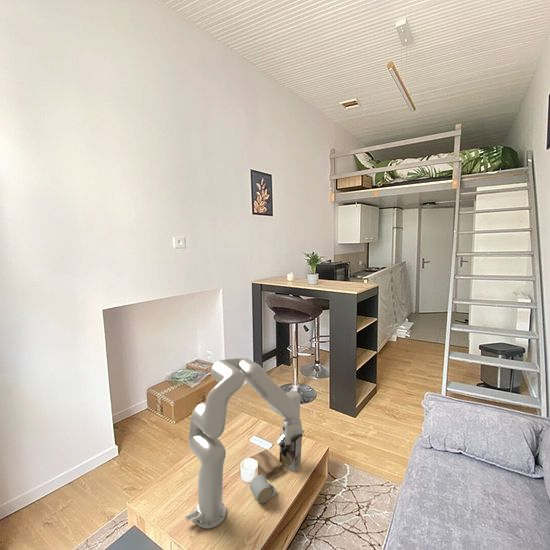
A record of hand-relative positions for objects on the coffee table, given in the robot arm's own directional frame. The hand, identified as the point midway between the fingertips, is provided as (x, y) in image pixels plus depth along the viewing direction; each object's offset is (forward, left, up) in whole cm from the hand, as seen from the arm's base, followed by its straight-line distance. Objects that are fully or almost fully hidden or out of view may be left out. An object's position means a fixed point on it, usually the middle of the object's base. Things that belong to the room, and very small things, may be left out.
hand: (290, 451), depth 151 cm
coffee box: (0, 0, -7) cm, 7 cm away
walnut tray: (-10, +6, -7) cm, 14 cm away
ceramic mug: (-21, -7, -7) cm, 24 cm away
